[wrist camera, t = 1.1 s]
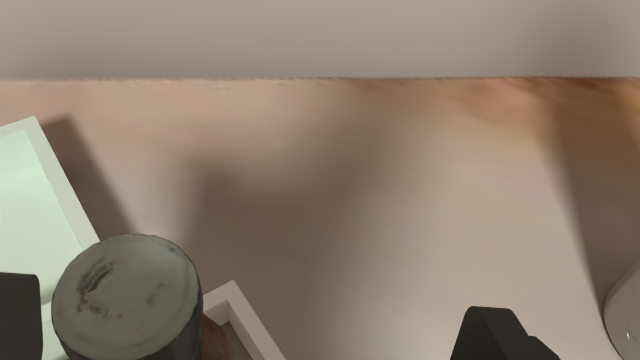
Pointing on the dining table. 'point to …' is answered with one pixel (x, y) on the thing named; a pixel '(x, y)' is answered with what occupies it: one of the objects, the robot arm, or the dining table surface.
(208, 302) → the off-white frame
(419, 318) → the dining table surface
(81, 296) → the sauce bottle
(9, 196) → the sage bin
